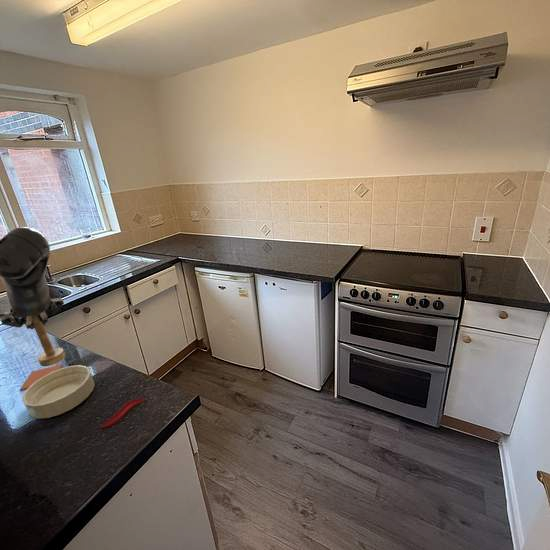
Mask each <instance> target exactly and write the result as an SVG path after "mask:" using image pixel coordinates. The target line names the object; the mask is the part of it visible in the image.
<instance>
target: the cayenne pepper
mask: <svg viewBox="0 0 550 550" xmlns="http://www.w3.org/2000/svg"><path fill="white" fill-rule="evenodd" d="M146 401H147V399H146V398H137V399H136V398H135V399H131V400H128V401H127V402H125V403H124V404H123V405H122V406H121V408H120V409H118V411H116V413H114V414H113V415H112V416H111V417H110V418H109V419H108V420H106V421H105V422H104V423H103V424H101V425H100V426H99V429H105V428H109V427H111V426H113V425H115V424H117V423H118V422H119V421H120V420H122V419H123V418H124V417H125V416H126V415H127V414H128V413H129V412H130V411H131V410H132V409H133V408H134V407H135V406H137V405H139V404H141V403H145V402H146Z"/></svg>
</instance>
